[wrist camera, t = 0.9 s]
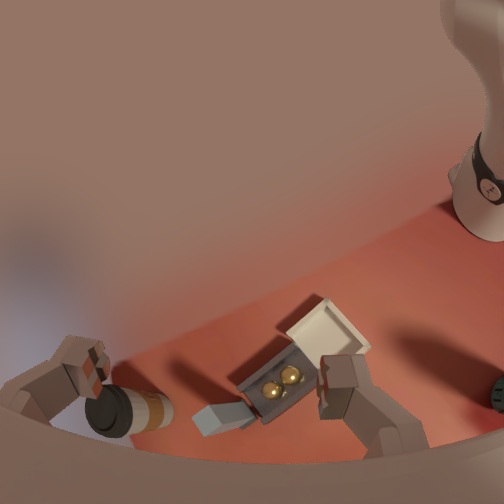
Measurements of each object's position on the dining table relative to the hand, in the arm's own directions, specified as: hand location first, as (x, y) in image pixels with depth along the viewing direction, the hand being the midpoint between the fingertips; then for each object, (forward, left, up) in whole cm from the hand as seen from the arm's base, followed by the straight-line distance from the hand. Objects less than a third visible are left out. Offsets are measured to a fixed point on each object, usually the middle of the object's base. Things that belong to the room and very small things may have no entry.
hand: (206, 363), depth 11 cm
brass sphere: (+7, -4, -38) cm, 39 cm away
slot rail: (+6, -4, -39) cm, 39 cm away
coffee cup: (+27, -13, -39) cm, 49 cm away
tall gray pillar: (+14, -4, -39) cm, 41 cm away
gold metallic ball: (+4, -4, -38) cm, 38 cm away
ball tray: (-4, -4, -39) cm, 39 cm away
